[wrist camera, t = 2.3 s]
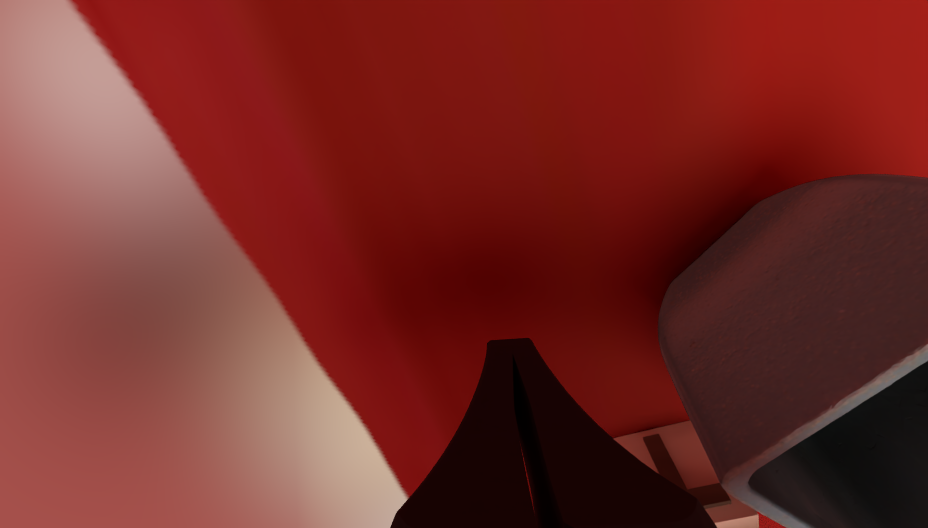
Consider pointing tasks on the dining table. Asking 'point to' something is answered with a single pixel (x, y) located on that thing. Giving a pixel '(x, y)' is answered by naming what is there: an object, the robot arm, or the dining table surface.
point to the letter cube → (689, 471)
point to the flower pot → (812, 353)
